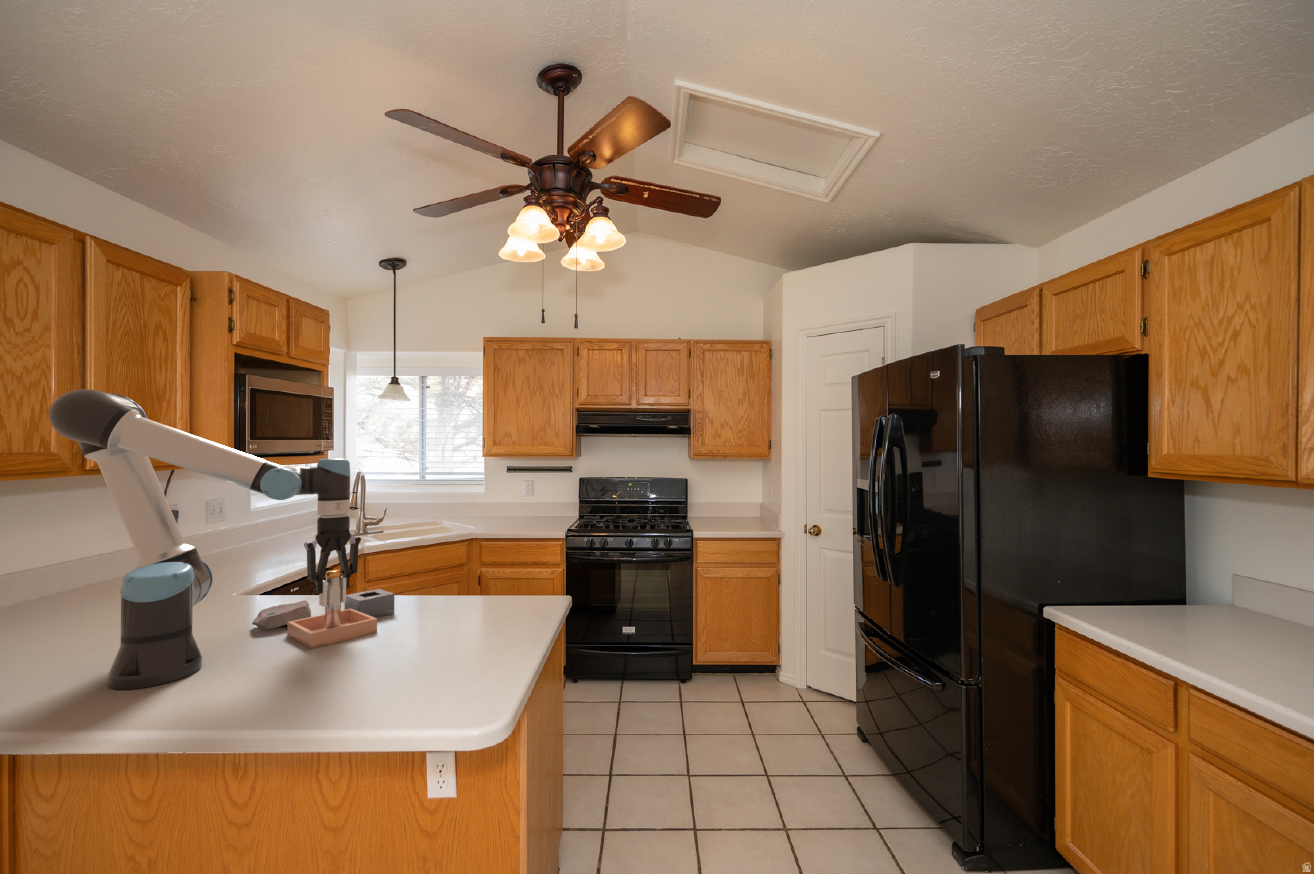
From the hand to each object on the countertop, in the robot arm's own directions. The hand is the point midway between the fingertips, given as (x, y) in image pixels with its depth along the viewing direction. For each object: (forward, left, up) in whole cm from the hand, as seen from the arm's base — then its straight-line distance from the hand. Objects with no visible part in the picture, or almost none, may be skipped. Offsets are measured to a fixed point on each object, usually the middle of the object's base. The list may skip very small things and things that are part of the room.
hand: (332, 603), depth 147 cm
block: (+14, +10, -8) cm, 19 cm away
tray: (0, 0, -8) cm, 8 cm away
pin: (0, 0, -8) cm, 8 cm away
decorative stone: (-6, +18, -9) cm, 21 cm away
